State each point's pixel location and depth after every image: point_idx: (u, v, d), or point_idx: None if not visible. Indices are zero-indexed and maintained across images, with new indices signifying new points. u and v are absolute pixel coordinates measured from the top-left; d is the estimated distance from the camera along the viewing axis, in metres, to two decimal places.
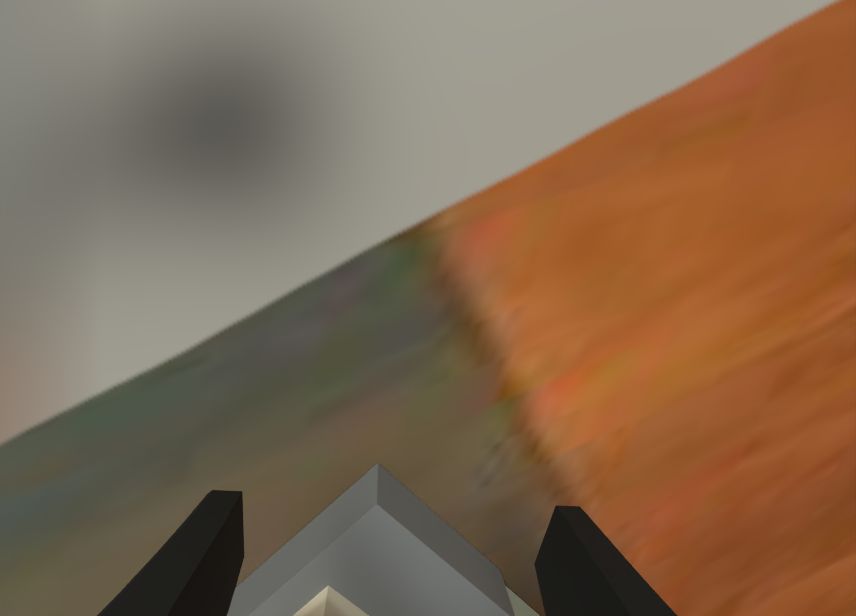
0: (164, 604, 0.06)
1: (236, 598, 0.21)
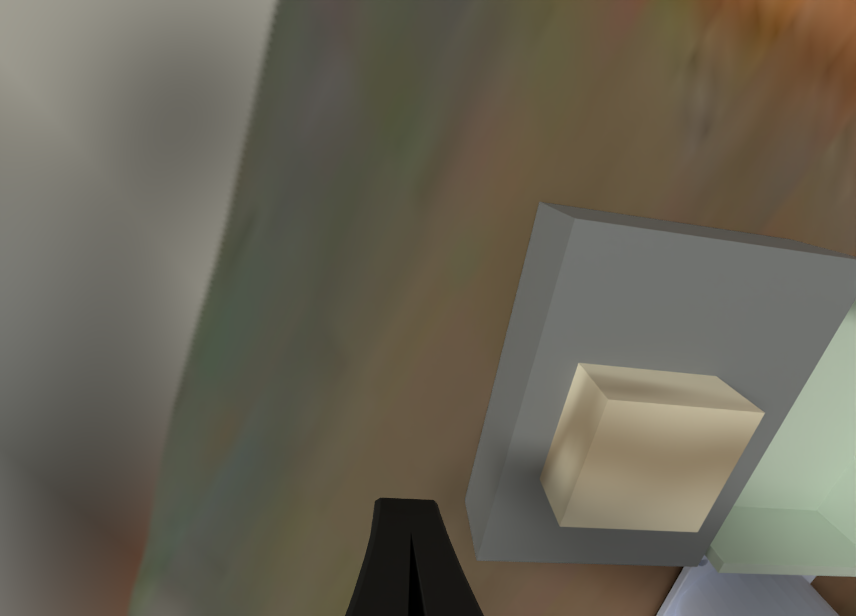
0: (400, 606, 0.06)
1: (487, 445, 0.17)
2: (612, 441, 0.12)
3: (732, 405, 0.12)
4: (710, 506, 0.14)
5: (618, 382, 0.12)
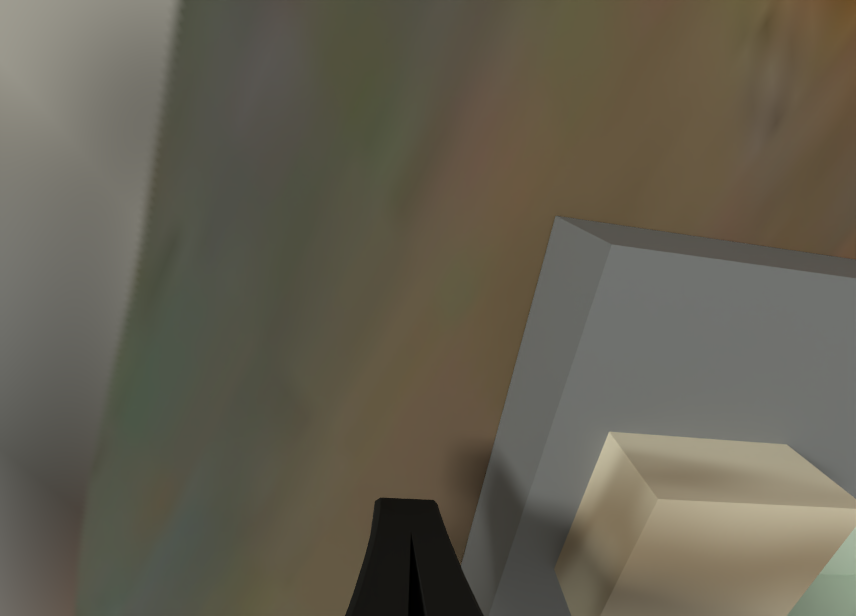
0: (400, 606, 0.06)
1: (487, 515, 0.14)
2: (660, 549, 0.09)
3: (822, 497, 0.09)
4: None
5: (665, 464, 0.09)
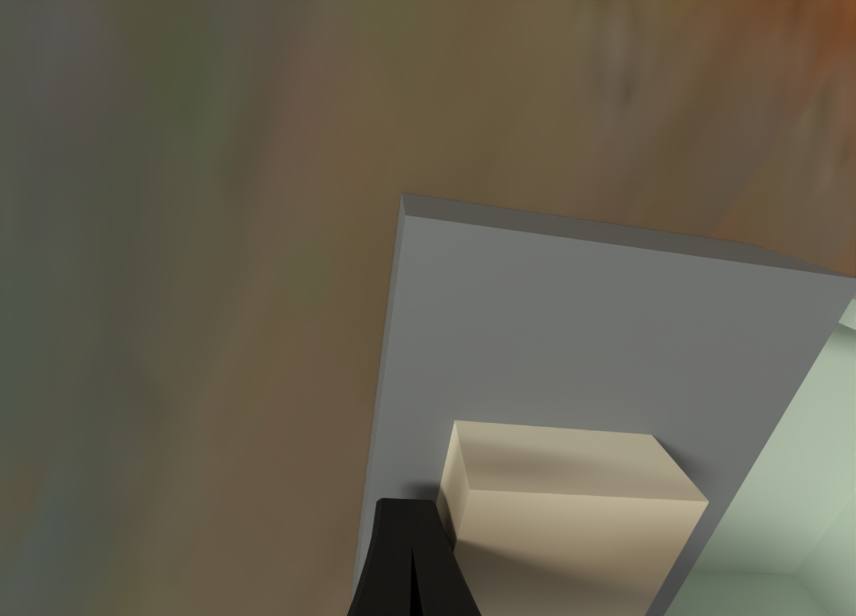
0: (402, 606, 0.06)
1: None
2: (486, 543, 0.08)
3: (663, 489, 0.08)
4: None
5: (500, 454, 0.09)
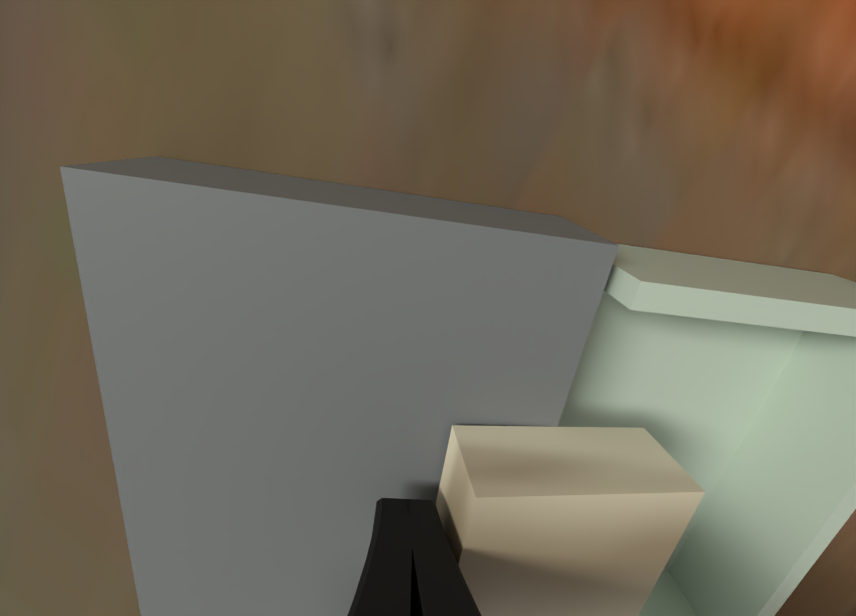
0: (402, 606, 0.06)
1: None
2: (491, 550, 0.08)
3: (661, 482, 0.09)
4: (640, 608, 0.10)
5: (501, 458, 0.08)
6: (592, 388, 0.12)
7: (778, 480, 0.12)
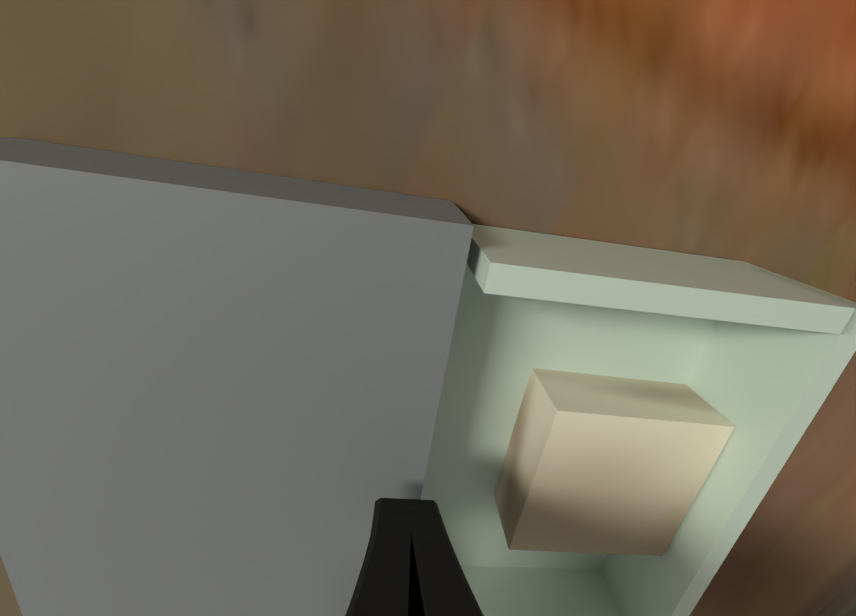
0: (400, 606, 0.06)
1: None
2: None
3: (562, 376, 0.12)
4: None
5: (681, 400, 0.12)
6: (499, 380, 0.12)
7: None
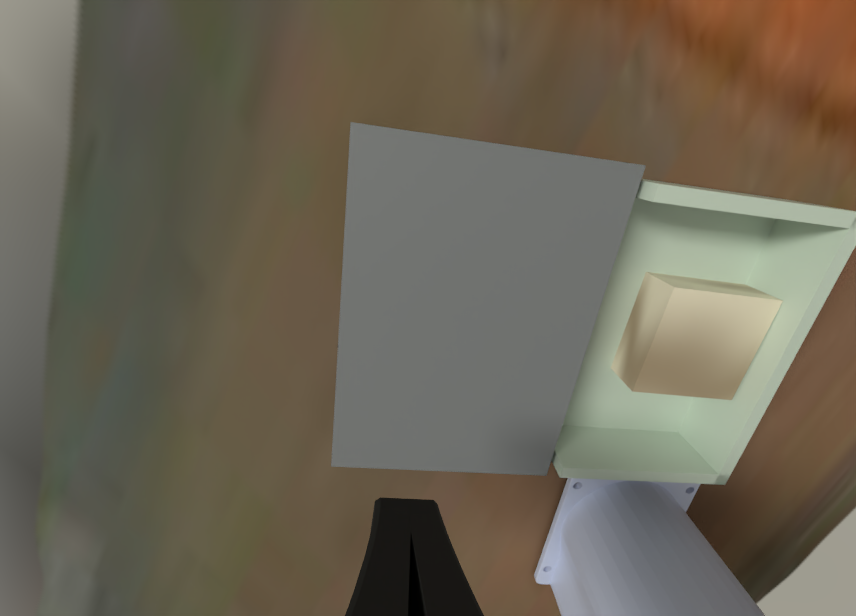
0: (400, 606, 0.06)
1: None
2: None
3: (666, 276, 0.18)
4: (619, 346, 0.20)
5: (746, 289, 0.18)
6: (624, 280, 0.18)
7: None
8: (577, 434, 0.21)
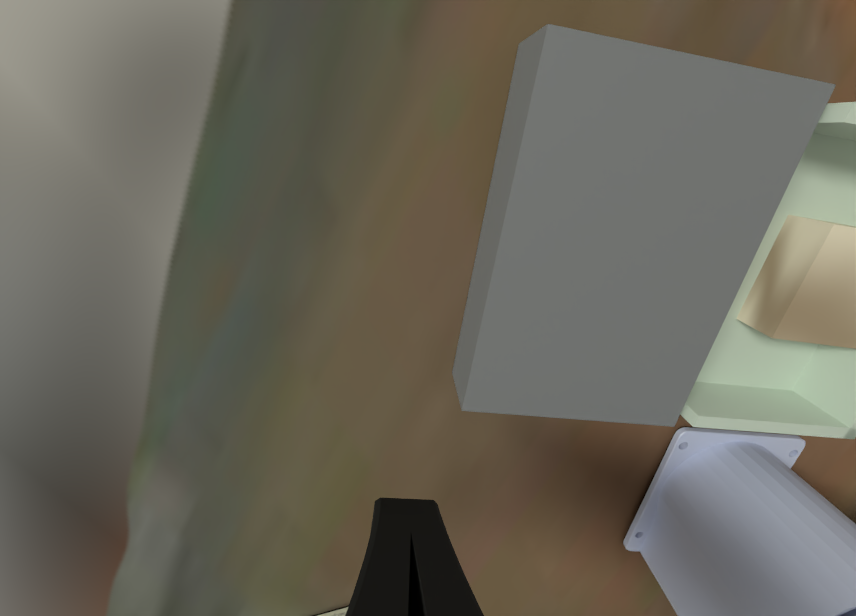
0: (400, 606, 0.06)
1: (472, 302, 0.18)
2: None
3: (810, 219, 0.18)
4: (749, 295, 0.19)
5: None
6: None
7: None
8: (697, 388, 0.20)
